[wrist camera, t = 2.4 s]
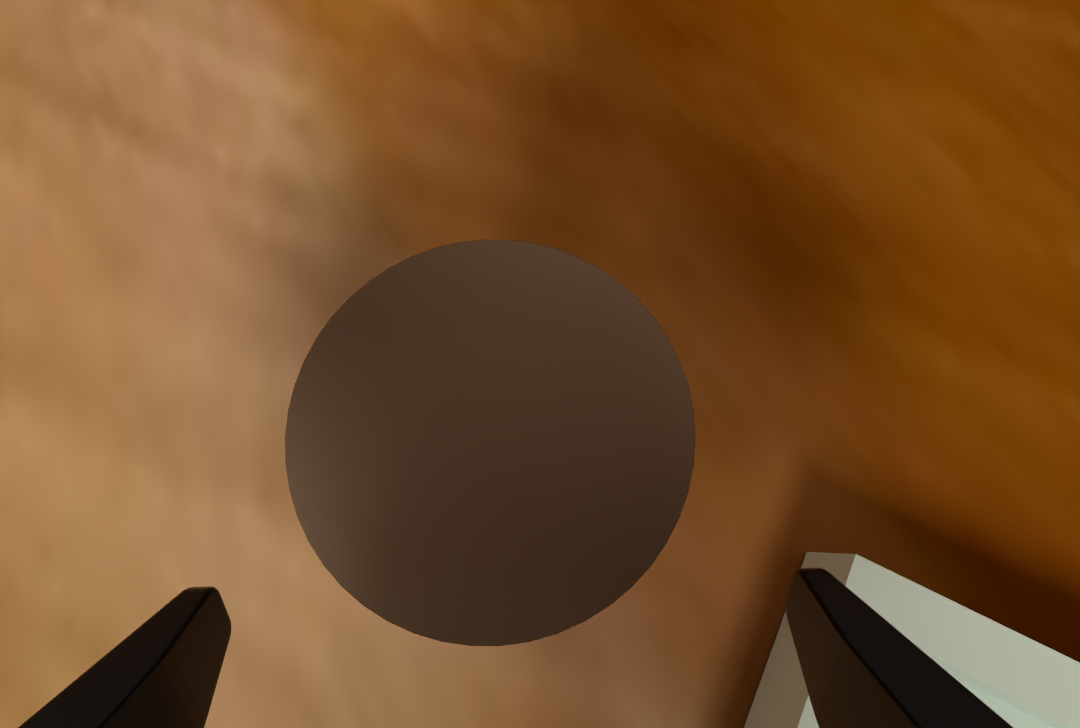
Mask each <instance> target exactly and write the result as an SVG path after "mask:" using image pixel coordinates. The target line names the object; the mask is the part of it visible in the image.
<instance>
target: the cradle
mask: <svg viewBox="0 0 1080 728" xmlns="http://www.w3.org/2000/svg"><path fill="white" fill-rule="evenodd" d="M801 568H822V569H825V570H827V571H828V572H829V573H831V574H832V575H833V576H834V577H835V578H836V579H838V580H839V581H840V582H841V583H842V584H844V585H845V586H846V587H847V588H848V589H850V590H851V591H852V592H853V593H854V594H855V595H857V596H858V597H859V598H860V599H861V600H863V601H864V602H865V603H866V604H867V605H869V606H870V607H871V608H872V609H873V610H874V611H876V612H877V613H878V614H879V615H880V616H882V617H883V618H884V619H885V620H886V621H888V622H889V623H890V624H891V625H892V626H893V627H895V628H896V629H897V630H898V631H899V632H901V633H902V634H903V635H904V636H905V637H906V638H908V639H909V640H910V641H911V642H912V643H914V644H915V645H916V646H917V647H918V648H920V649H921V650H922V651H923V652H924V653H925V654H927V655H928V656H929V657H930V658H931V659H933V660H934V661H935V662H936V663H937V664H939V665H940V666H941V667H942V668H943V669H944V670H946V671H947V672H948V673H949V674H950V675H952V676H953V677H954V678H955V679H956V680H958V681H959V682H960V683H961V684H962V685H963V686H965V687H966V688H967V689H968V690H969V691H971V692H972V693H973V694H974V695H975V696H976V697H978V698H979V699H980V700H981V701H982V702H984V703H985V704H986V705H987V706H988V707H990V708H991V709H992V710H993V711H994V712H995V713H997V714H998V715H999V716H1000V717H1001V718H1003V719H1004V720H1005V721H1006V722H1007V723H1009V724H1010V725H1011V726H1012V727H1013V728H1080V663H1079V662H1077V661H1075V660H1073V659H1071V658H1069V657H1067V656H1065V655H1063V654H1061V653H1059V652H1057V651H1055V650H1053V649H1051V648H1049V647H1047V646H1044V645H1042V644H1040V643H1038V642H1036V641H1034V640H1032V639H1030V638H1028V637H1026V636H1024V635H1022V634H1020V633H1018V632H1016V631H1014V630H1012V629H1009V628H1007V627H1005V626H1003V625H1001V624H999V623H997V622H995V621H993V620H991V619H989V618H987V617H985V616H983V615H981V614H979V613H977V612H974V611H972V610H970V609H968V608H966V607H964V606H962V605H960V604H958V603H956V602H954V601H952V600H950V599H948V598H946V597H944V596H942V595H939V594H937V593H935V592H933V591H931V590H929V589H927V588H925V587H923V586H921V585H919V584H917V583H915V582H913V581H911V580H909V579H907V578H904V577H902V576H900V575H898V574H896V573H894V572H892V571H890V570H888V569H886V568H884V567H882V566H880V565H878V564H876V563H874V562H872V561H869V560H867V559H865V558H863V557H861V556H859V555H857V554H846V553H822V552H807V553H806V555H805V558H804V561H803V564H802V566H801ZM744 728H819V726H818V723H817V720H816V718H815V714H814V711H813V708H812V705H811V701H810V698H809V694H808V691H807V687H806V684H805V680H804V677H803V673H802V670H801V666H800V662H799V659H798V655H797V652H796V648H795V645H794V641H793V638H792V634H791V631H790V627H789V624H788V620H787V615H786V611H785V614H784V617H783V619H782V622H781V625H780V628H779V631H778V633H777V636H776V639H775V642H774V645H773V647H772V650H771V653H770V656H769V659H768V661H767V664H766V667H765V670H764V673H763V675H762V678H761V681H760V684H759V686H758V689H757V692H756V695H755V698H754V700H753V703H752V706H751V709H750V712H749V714H748V717H747V720H746V723H745V726H744Z"/></svg>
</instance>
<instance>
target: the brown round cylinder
mask: <svg viewBox="0 0 1080 728" xmlns="http://www.w3.org/2000/svg"><path fill="white" fill-rule="evenodd" d="M694 450H695V427H694V412H693V407H692V402H691V397H690V392H689V387H688V384H687V381H686V378H685V375H684V372H683V369H682V366H681V363H680V361H679V359H678V357H677V355H676V353H675V351H674V349H673V347H672V345H671V343H670V341H669V339H668V337H667V336H666V334H665V333H664V331H663V330H662V328H661V327H660V325H659V324H658V322H657V321H656V319H655V318H654V317H653V315H652V314H651V313H650V312H649V311H648V310H647V308H646V307H645V306H644V305H643V304H642V303H641V302H640V300H639V299H638V298H637V297H635V296H634V295H633V294H632V293H631V292H630V291H629V290H628V289H627V288H625V287H624V286H623V285H622V284H621V283H620V282H618V281H617V280H615V279H614V278H613V277H611V276H610V275H608V274H607V273H605V272H604V271H603V270H601V269H599V268H598V267H596V266H594V265H592V264H590V263H588V262H586V261H584V260H582V259H581V258H579V257H576V256H573V255H571V254H568V253H566V252H563V251H560V250H558V249H555V248H551V247H547V246H543V245H539V244H535V243H529V242H521V241H513V240H476V241H468V242H459V243H455V244H450V245H446V246H442V247H438V248H434V249H431V250H428V251H426V252H423V253H420V254H417V255H415V256H412V257H410V258H408V259H406V260H404V261H402V262H400V263H398V264H396V265H394V266H392V267H390V268H388V269H387V270H385V271H384V272H382V273H381V274H379V275H378V276H376V277H375V278H373V279H372V280H370V281H369V282H367V283H366V284H365V285H364V286H363V287H362V288H360V289H359V290H358V291H357V292H356V293H355V294H353V295H352V296H351V297H350V298H349V299H348V300H347V301H346V302H345V303H344V304H343V305H342V306H341V307H340V309H339V310H338V311H337V312H336V313H335V314H334V315H333V316H332V317H331V319H330V320H329V321H328V323H327V324H326V326H325V327H324V328H323V330H322V331H321V333H320V334H319V335H318V337H317V338H316V340H315V342H314V344H313V346H312V347H311V349H310V351H309V353H308V355H307V357H306V358H305V360H304V363H303V365H302V368H301V370H300V373H299V375H298V378H297V380H296V383H295V386H294V390H293V394H292V398H291V402H290V406H289V410H288V418H287V426H286V435H285V454H286V469H287V476H288V483H289V489H290V493H291V497H292V500H293V503H294V507H295V510H296V514H297V517H298V519H299V521H300V524H301V526H302V528H303V530H304V532H305V535H306V537H307V539H308V541H309V543H310V545H311V546H312V548H313V549H314V551H315V552H316V554H317V556H318V557H319V559H320V560H321V562H322V563H323V565H324V566H325V567H326V569H327V570H328V571H329V572H330V573H331V574H332V576H333V577H334V578H335V579H336V580H337V581H338V583H339V584H340V585H341V586H342V587H343V588H344V589H345V590H346V591H347V592H349V593H350V594H351V595H352V596H353V597H354V598H355V599H357V600H358V601H359V602H360V603H361V604H362V605H363V606H365V607H366V608H368V609H370V610H371V611H373V612H374V613H376V614H377V615H379V616H380V617H382V618H383V619H385V620H386V621H388V622H390V623H393V624H395V625H397V626H399V627H401V628H403V629H406V630H408V631H410V632H412V633H414V634H418V635H421V636H425V637H428V638H431V639H435V640H438V641H442V642H448V643H455V644H462V645H469V646H502V645H510V644H517V643H524V642H530V641H533V640H537V639H540V638H544V637H547V636H551V635H554V634H558V633H560V632H562V631H564V630H567V629H569V628H571V627H573V626H576V625H578V624H580V623H582V622H584V621H586V620H588V619H589V618H591V617H592V616H594V615H596V614H597V613H599V612H600V611H602V610H604V609H605V608H607V607H608V606H610V605H611V604H612V603H613V602H615V601H616V600H617V599H618V598H619V597H621V596H622V595H623V594H624V593H625V592H626V591H628V590H629V589H630V588H631V587H632V586H633V585H634V584H635V583H636V582H637V581H638V580H639V578H640V577H641V576H642V575H643V574H644V573H645V572H646V571H647V570H648V569H649V567H650V566H651V565H652V563H653V562H654V561H655V559H656V558H657V556H658V555H659V553H660V552H661V550H662V549H663V547H664V546H665V544H666V543H667V541H668V539H669V537H670V535H671V533H672V531H673V529H674V527H675V525H676V523H677V521H678V519H679V517H680V514H681V511H682V508H683V505H684V502H685V500H686V497H687V494H688V490H689V485H690V480H691V475H692V470H693V465H694Z"/></svg>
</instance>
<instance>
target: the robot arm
mask: <svg viewBox="0 0 1080 728" xmlns="http://www.w3.org/2000/svg"><path fill="white" fill-rule="evenodd" d="M786 615H787V620H788V624H789V627H790V631H791V634H792V638H793V641H794V645H795V648H796V652H797V655H798V659H799V662H800V666H801V670H802V673H803V677H804V680H805V684H806V687H807V691H808V694H809V698H810V701H811V705H812V708H813V711H814V714H815V718H816V720H817V723H818V726H819V728H1013V727H1012V726H1011V725H1010V724H1009V723H1007V722H1006V721H1005V720H1004V719H1003V718H1001V717H1000V716H999V715H998V714H997V713H995V712H994V711H993V710H992V709H991V708H990V707H988V706H987V705H986V704H985V703H984V702H982V701H981V700H980V699H979V698H978V697H976V696H975V695H974V694H973V693H972V692H971V691H969V690H968V689H967V688H966V687H965V686H963V685H962V684H961V683H960V682H959V681H958V680H956V679H955V678H954V677H953V676H952V675H950V674H949V673H948V672H947V671H946V670H944V669H943V668H942V667H941V666H940V665H939V664H937V663H936V662H935V661H934V660H933V659H931V658H930V657H929V656H928V655H927V654H925V653H924V652H923V651H922V650H921V649H920V648H918V647H917V646H916V645H915V644H914V643H912V642H911V641H910V640H909V639H908V638H906V637H905V636H904V635H903V634H902V633H901V632H899V631H898V630H897V629H896V628H895V627H893V626H892V625H891V624H890V623H889V622H888V621H886V620H885V619H884V618H883V617H882V616H880V615H879V614H878V613H877V612H876V611H874V610H873V609H872V608H871V607H870V606H869V605H867V604H866V603H865V602H864V601H863V600H861V599H860V598H859V597H858V596H857V595H855V594H854V593H853V592H852V591H851V590H850V589H848V588H847V587H846V586H845V585H844V584H842V583H841V582H840V581H839V580H838V579H836V578H835V577H834V576H833V575H832V574H831V573H829V572H828V571H827V570H825V569H822V568H800V569H798V570H796V572H795V573H794V576H793V579H792V583H791V587H790V591H789V594H788V598H787V602H786ZM230 635H231V621H230V618H229V616H228V613H227V611H226V608H225V605H224V603H223V600H222V598H221V595H220V593H219V591H218V590H217V589H216V588H215V587H191V588H187V589H186V590H184V591H182V592H181V593H180V594H179V595H177V596H176V597H175V598H174V599H173V600H171V601H170V602H169V603H168V604H167V605H165V606H164V607H163V608H162V609H160V610H159V611H158V612H157V613H156V614H154V615H153V616H152V617H151V618H150V619H148V620H147V621H146V622H145V623H144V624H142V625H141V626H140V627H139V628H138V629H136V630H135V631H134V632H133V633H132V634H130V635H129V636H128V637H127V638H126V639H124V640H123V641H122V642H121V643H120V644H118V645H117V646H116V647H115V648H114V649H112V650H111V651H110V652H109V653H107V654H106V655H105V656H104V657H103V658H101V659H100V660H99V661H98V662H97V663H95V664H94V665H93V666H92V667H91V668H89V669H88V670H87V671H86V672H85V673H83V674H82V675H81V676H80V677H79V678H77V679H76V680H75V681H74V682H73V683H71V684H70V685H69V686H68V687H67V688H65V689H64V690H63V691H62V692H61V693H59V694H58V695H57V696H56V697H55V698H53V699H52V700H51V701H50V702H48V703H47V704H46V705H45V706H44V707H42V708H41V709H40V710H39V711H38V712H36V713H35V714H34V715H33V716H32V717H30V718H29V719H28V720H27V721H26V722H24V723H23V724H22V725H21V726H20V727H18V728H204V726H205V723H206V719H207V716H208V713H209V709H210V706H211V702H212V699H213V695H214V692H215V688H216V685H217V681H218V678H219V674H220V671H221V667H222V664H223V660H224V657H225V653H226V650H227V646H228V643H229V639H230Z"/></svg>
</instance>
